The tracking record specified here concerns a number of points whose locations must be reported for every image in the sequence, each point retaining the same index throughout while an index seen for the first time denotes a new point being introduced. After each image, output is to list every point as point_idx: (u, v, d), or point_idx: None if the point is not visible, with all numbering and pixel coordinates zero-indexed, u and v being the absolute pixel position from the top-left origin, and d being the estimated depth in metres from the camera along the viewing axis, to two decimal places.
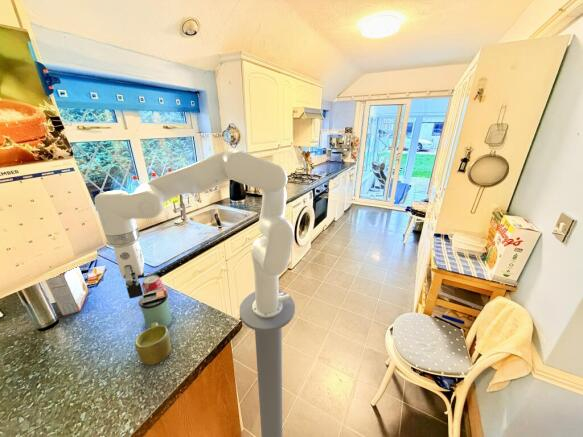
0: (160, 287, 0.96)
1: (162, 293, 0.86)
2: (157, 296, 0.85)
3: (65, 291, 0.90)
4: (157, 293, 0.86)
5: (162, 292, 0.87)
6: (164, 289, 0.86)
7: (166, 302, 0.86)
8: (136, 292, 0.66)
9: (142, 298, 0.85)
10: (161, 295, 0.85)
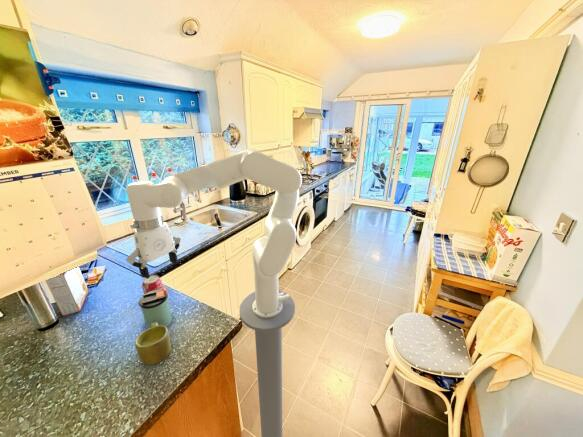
0: (160, 287, 0.96)
1: (162, 293, 0.86)
2: (157, 296, 0.85)
3: (65, 291, 0.90)
4: (157, 293, 0.86)
5: (162, 292, 0.87)
6: (164, 289, 0.86)
7: (166, 302, 0.86)
8: (142, 273, 0.73)
9: (142, 298, 0.85)
10: (161, 295, 0.85)
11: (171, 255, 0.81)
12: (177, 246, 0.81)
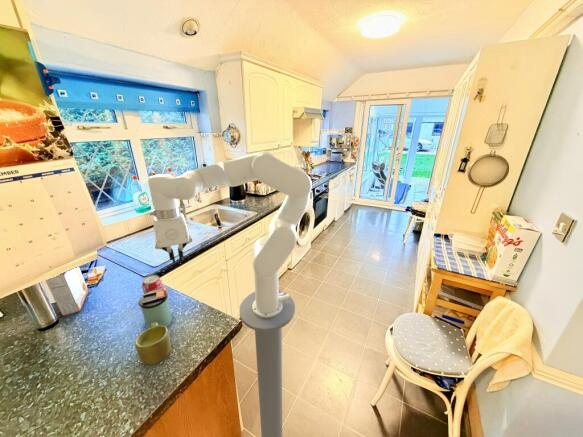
0: (160, 287, 0.96)
1: (162, 293, 0.86)
2: (157, 296, 0.85)
3: (65, 291, 0.90)
4: (157, 293, 0.86)
5: (162, 292, 0.87)
6: (164, 289, 0.86)
7: (166, 302, 0.86)
8: None
9: (142, 298, 0.85)
10: (161, 295, 0.85)
11: (178, 251, 0.84)
12: (184, 244, 0.83)
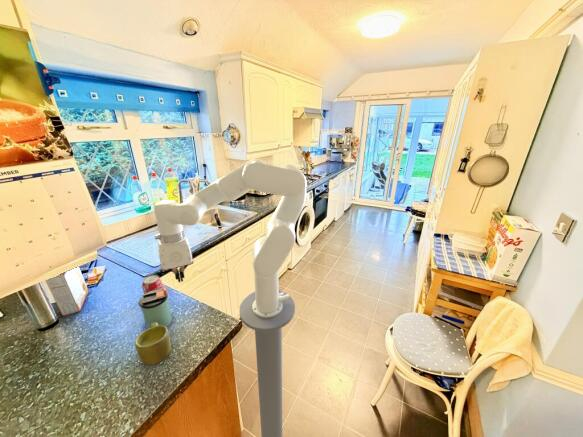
0: (160, 287, 0.96)
1: (162, 293, 0.86)
2: (157, 296, 0.85)
3: (65, 291, 0.90)
4: (157, 293, 0.86)
5: (162, 292, 0.87)
6: (164, 289, 0.86)
7: (166, 302, 0.86)
8: None
9: (142, 298, 0.85)
10: (161, 295, 0.85)
11: (179, 272, 0.87)
12: (185, 266, 0.86)
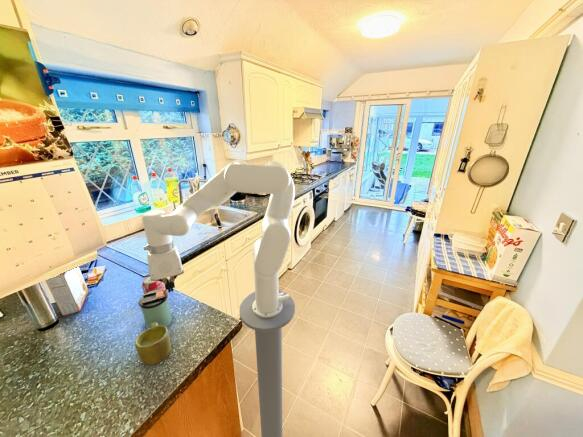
0: (160, 287, 0.96)
1: (162, 293, 0.86)
2: (157, 296, 0.85)
3: (65, 291, 0.90)
4: (157, 293, 0.86)
5: (162, 292, 0.87)
6: (164, 289, 0.85)
7: (166, 302, 0.86)
8: None
9: (142, 298, 0.85)
10: (161, 295, 0.85)
11: (169, 282, 0.86)
12: (175, 276, 0.86)
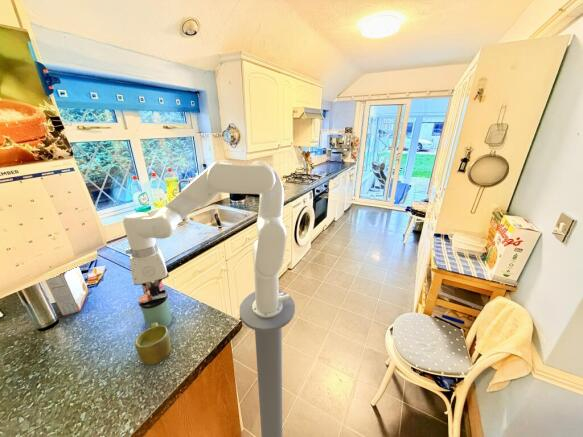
0: (160, 287, 0.96)
1: (146, 297, 0.84)
2: (140, 301, 0.82)
3: (65, 291, 0.90)
4: (141, 297, 0.84)
5: (146, 296, 0.84)
6: (148, 293, 0.83)
7: (166, 302, 0.86)
8: None
9: None
10: (145, 299, 0.83)
11: None
12: (160, 280, 0.83)
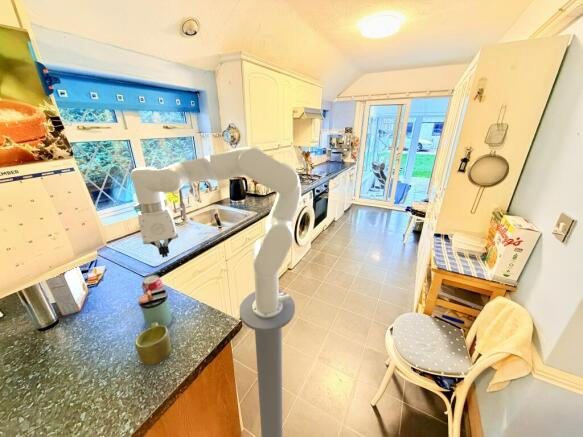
0: (160, 287, 0.96)
1: (146, 297, 0.84)
2: (141, 300, 0.82)
3: (65, 291, 0.90)
4: (141, 297, 0.84)
5: (146, 296, 0.84)
6: (148, 293, 0.83)
7: (166, 302, 0.86)
8: None
9: None
10: (145, 299, 0.83)
11: None
12: (169, 240, 0.81)
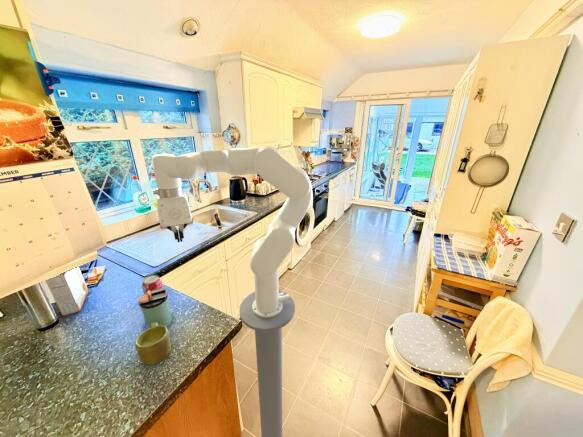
0: (160, 287, 0.96)
1: (146, 297, 0.84)
2: (141, 300, 0.82)
3: (65, 291, 0.90)
4: (141, 297, 0.84)
5: (146, 296, 0.84)
6: (148, 293, 0.83)
7: (166, 302, 0.86)
8: None
9: None
10: (145, 299, 0.83)
11: None
12: (184, 225, 0.84)
